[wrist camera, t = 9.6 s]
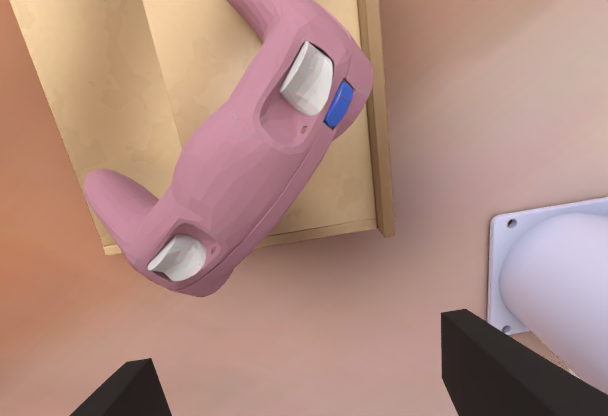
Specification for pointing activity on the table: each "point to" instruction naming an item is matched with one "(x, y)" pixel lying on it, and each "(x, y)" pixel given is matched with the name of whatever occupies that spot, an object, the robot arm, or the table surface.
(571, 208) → the robot arm
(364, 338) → the table surface
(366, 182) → the step shelf
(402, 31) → the table surface
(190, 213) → the video game controller
